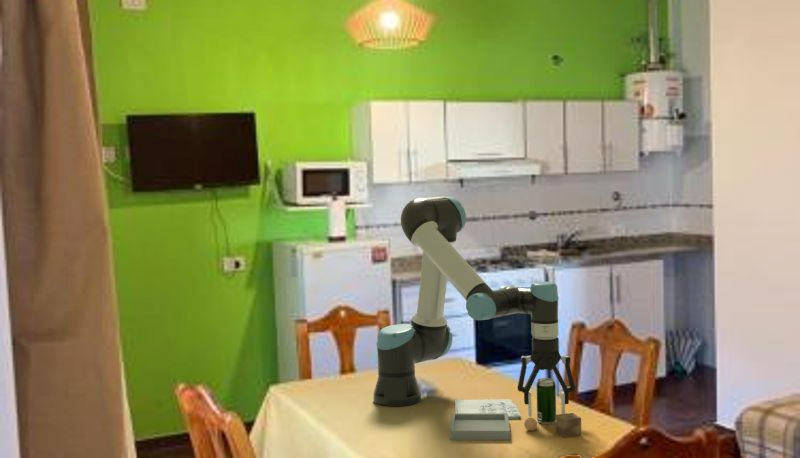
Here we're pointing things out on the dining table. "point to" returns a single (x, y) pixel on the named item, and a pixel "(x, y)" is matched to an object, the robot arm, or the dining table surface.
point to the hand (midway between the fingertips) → (546, 415)
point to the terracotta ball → (530, 424)
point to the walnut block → (568, 425)
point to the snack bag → (487, 407)
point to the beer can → (546, 401)
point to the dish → (479, 426)
